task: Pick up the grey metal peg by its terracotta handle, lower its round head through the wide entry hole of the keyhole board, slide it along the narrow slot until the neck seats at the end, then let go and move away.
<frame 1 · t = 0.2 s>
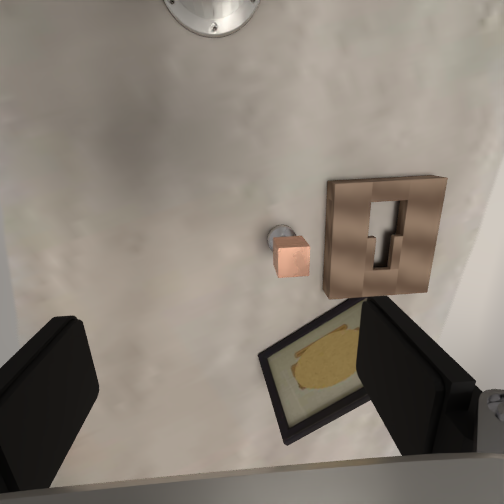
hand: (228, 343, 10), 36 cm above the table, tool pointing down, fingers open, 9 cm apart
peg: (281, 238, 47), on the table
keyhole board: (374, 235, 48), on the table
picture frame: (323, 336, 54), on the table
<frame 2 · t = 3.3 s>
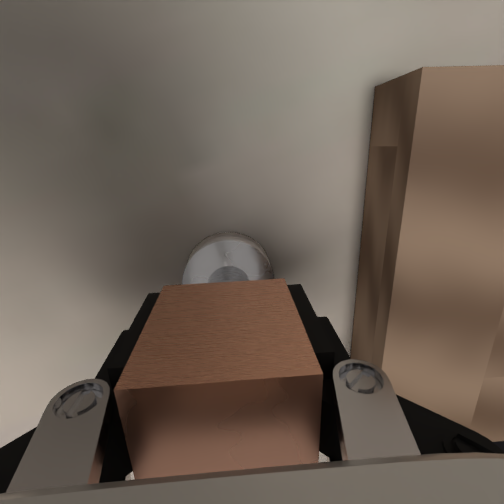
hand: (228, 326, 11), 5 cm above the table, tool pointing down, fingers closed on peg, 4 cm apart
peg: (229, 272, 16), on the table, touching gripper
keyhole board: (498, 264, 17), on the table
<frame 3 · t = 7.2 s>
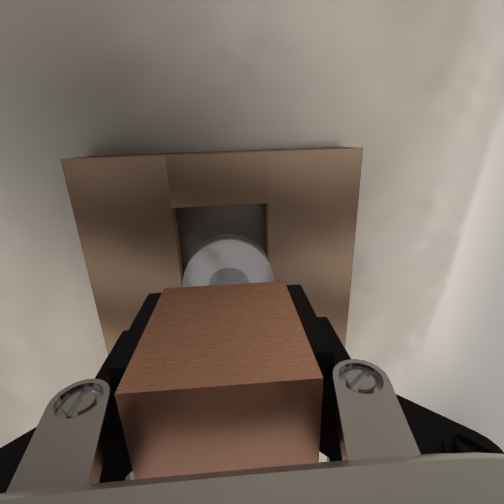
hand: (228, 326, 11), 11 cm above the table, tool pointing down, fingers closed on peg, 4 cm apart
peg: (229, 273, 16), point 6 cm above the table, touching gripper
keyhole board: (226, 278, 22), on the table
when the fingers open (5 cm above the table, at t = 11.2 s): peg stays where it is, resting in keyhole board.
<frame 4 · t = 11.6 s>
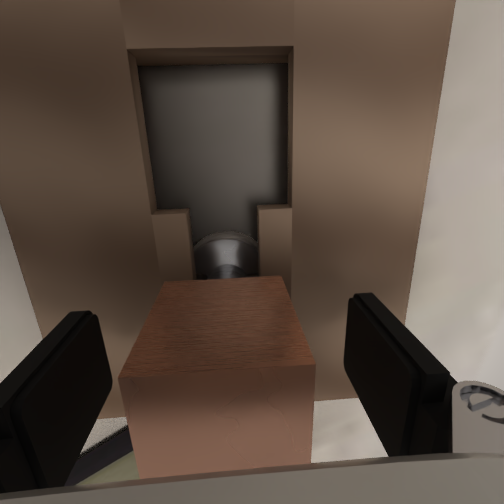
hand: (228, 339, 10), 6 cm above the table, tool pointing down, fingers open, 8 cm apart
peg: (228, 270, 16), resting in keyhole board
keyhole board: (225, 213, 15), on the table
picture frame: (137, 479, 21), on the table
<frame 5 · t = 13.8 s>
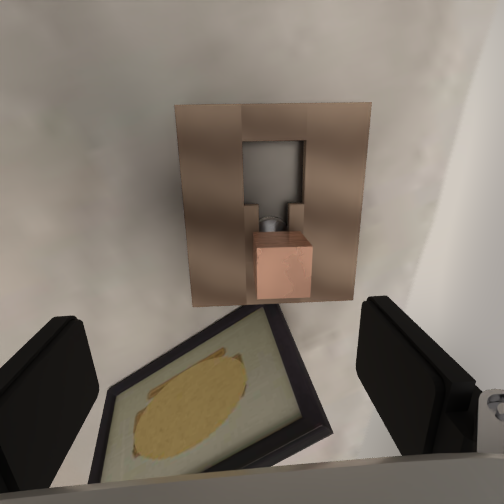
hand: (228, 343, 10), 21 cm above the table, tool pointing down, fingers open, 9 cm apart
peg: (269, 237, 31), resting in keyhole board
keyhole board: (269, 207, 30), on the table
picture frame: (208, 364, 36), on the table
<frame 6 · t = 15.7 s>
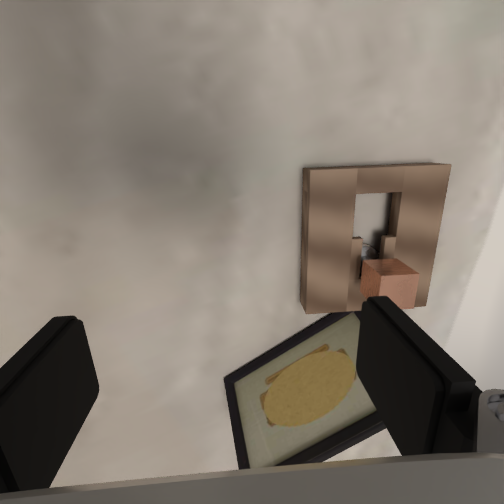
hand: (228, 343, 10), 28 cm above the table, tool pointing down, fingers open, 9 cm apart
peg: (359, 258, 41), resting in keyhole board
keyhole board: (361, 236, 39), on the table
picture frame: (302, 357, 46), on the table
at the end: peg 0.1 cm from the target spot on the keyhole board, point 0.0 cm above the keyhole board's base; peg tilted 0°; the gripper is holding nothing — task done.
